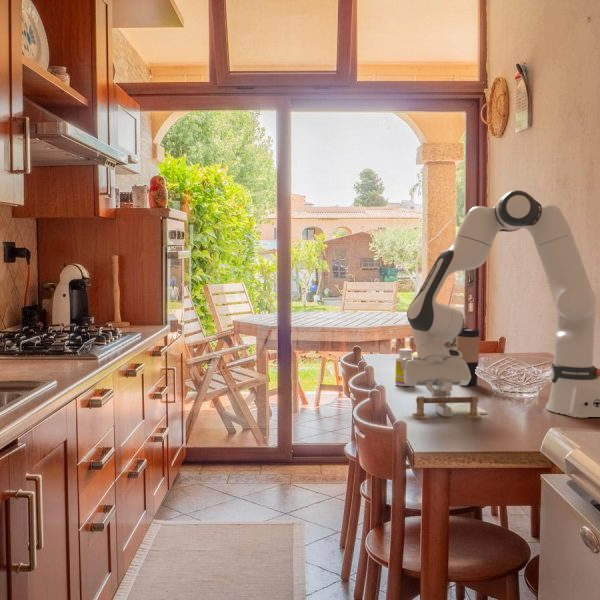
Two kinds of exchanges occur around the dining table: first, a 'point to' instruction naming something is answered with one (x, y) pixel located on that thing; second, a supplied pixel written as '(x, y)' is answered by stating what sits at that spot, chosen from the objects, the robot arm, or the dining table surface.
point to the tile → (464, 409)
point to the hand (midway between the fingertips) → (441, 395)
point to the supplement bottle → (399, 371)
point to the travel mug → (469, 351)
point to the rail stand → (472, 400)
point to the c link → (442, 387)
